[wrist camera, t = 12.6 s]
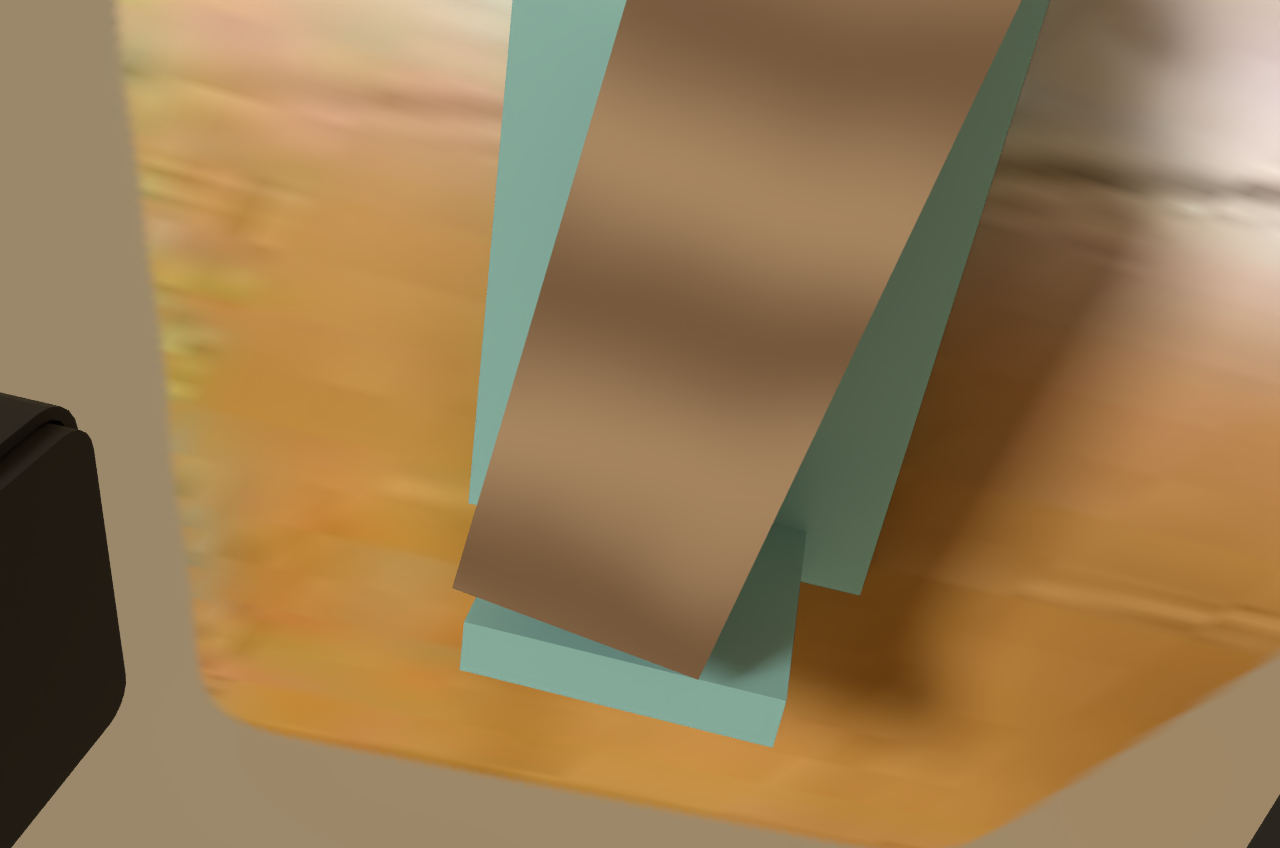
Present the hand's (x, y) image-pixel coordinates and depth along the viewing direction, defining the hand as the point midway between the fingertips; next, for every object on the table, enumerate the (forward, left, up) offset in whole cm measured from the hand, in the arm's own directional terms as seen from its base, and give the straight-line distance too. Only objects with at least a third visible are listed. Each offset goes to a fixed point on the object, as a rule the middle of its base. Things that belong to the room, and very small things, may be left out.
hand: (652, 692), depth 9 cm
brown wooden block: (+1, +4, -19) cm, 19 cm away
